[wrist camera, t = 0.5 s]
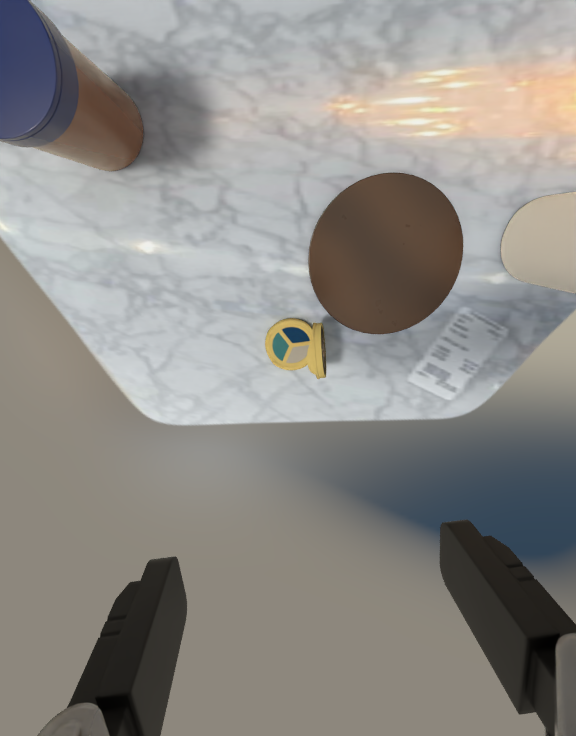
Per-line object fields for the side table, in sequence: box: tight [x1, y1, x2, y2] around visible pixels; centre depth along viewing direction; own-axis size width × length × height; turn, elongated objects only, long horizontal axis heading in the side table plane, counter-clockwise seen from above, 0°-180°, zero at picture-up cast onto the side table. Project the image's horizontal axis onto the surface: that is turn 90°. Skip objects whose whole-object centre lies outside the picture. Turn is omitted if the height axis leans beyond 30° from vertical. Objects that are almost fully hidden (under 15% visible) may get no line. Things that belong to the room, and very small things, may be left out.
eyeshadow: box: [265, 318, 326, 379], centre depth 29 cm, size 4×5×5 cm
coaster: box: [308, 173, 463, 334], centre depth 28 cm, size 12×12×1 cm
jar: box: [32, 35, 143, 171], centre depth 20 cm, size 5×5×11 cm
